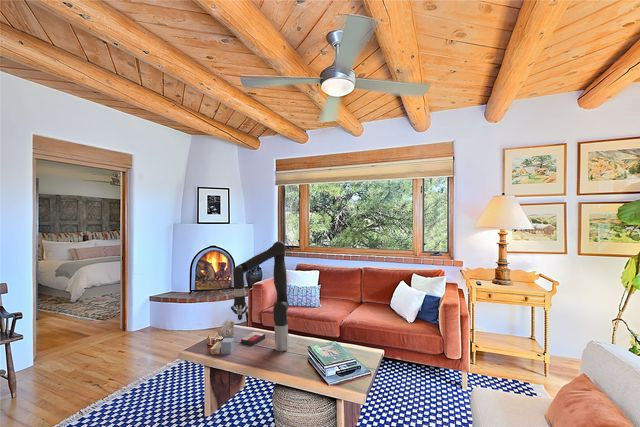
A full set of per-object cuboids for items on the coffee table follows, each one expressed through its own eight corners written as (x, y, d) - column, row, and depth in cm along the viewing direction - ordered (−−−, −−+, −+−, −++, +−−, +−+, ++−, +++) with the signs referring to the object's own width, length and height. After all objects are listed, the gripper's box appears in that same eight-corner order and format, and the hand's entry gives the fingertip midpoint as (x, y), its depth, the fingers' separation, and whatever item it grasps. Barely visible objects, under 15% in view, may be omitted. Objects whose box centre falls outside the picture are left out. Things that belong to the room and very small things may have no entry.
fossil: (222, 341, 219) (226, 320, 223) (212, 339, 222) (216, 318, 227) (235, 340, 232) (239, 320, 237) (226, 338, 236) (230, 318, 241)
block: (234, 349, 210) (234, 338, 210) (231, 354, 203) (230, 342, 203) (224, 349, 210) (224, 338, 210) (220, 354, 203) (220, 342, 203)
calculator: (240, 338, 220) (254, 330, 234) (240, 344, 220) (254, 336, 234) (252, 341, 215) (265, 333, 228) (252, 347, 215) (265, 338, 229)
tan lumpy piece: (225, 346, 215) (225, 341, 215) (219, 354, 203) (219, 348, 203) (217, 346, 215) (217, 341, 215) (210, 353, 203) (210, 348, 203)
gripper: (250, 293, 210) (251, 318, 209) (232, 293, 210) (232, 318, 210) (247, 295, 202) (248, 321, 202) (228, 296, 203) (228, 321, 203)
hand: (240, 319), depth 206 cm, fingers closed
